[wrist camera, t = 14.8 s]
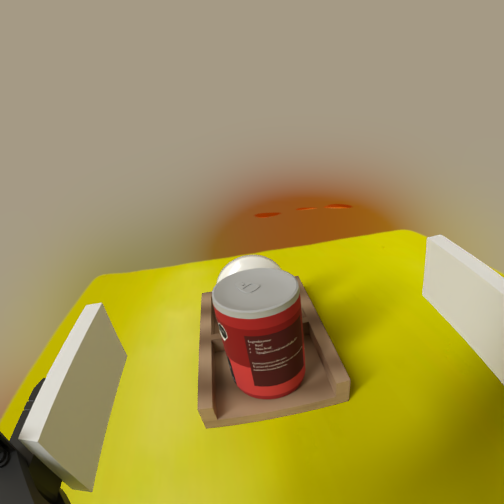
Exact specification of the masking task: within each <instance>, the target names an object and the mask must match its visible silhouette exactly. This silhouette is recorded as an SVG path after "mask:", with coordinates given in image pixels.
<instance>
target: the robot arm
mask: <svg viewBox="0 0 504 504" xmlns="http://www.w3.org/2000/svg"><path fill="white" fill-rule="evenodd" d="M422 295H423V296H424V297H425V298H426V299H427V300H428V301H429V302H430V303H431V304H432V305H433V306H434V307H435V308H436V310H437V311H438V312H439V313H440V314H441V315H442V316H443V317H444V318H445V319H446V320H447V321H448V322H449V323H450V324H451V325H452V326H453V328H454V329H455V330H456V331H457V332H458V333H459V334H460V335H461V336H462V337H463V338H464V340H465V341H466V342H467V343H468V344H469V345H470V346H471V347H472V348H473V350H474V351H475V352H476V353H477V354H478V355H479V356H480V358H481V359H482V360H483V361H484V362H485V363H486V365H487V366H488V367H489V368H490V369H491V370H492V372H493V373H494V374H495V375H496V376H497V378H498V379H499V380H500V381H501V382H502V384H503V385H504V278H503V277H502V276H500V275H499V274H498V273H496V272H495V271H494V270H492V269H491V268H490V267H488V266H487V265H485V264H484V263H483V262H481V261H480V260H478V259H477V258H475V257H474V256H473V255H471V254H469V253H468V252H466V251H465V250H464V249H462V248H461V247H459V246H458V245H456V244H455V243H453V242H452V241H450V240H449V239H447V238H446V237H444V236H442V235H437V236H433V237H428V238H427V246H426V261H425V272H424V283H423V292H422ZM126 358H127V355H126V353H125V351H124V349H123V347H122V345H121V343H120V341H119V339H118V336H117V334H116V332H115V330H114V328H113V326H112V324H111V322H110V319H109V317H108V315H107V313H106V310H105V308H104V306H103V304H102V303H97V304H91V305H86V306H85V308H84V310H83V312H82V313H81V315H80V317H79V318H78V320H77V322H76V323H75V325H74V327H73V329H72V330H71V332H70V334H69V336H68V338H67V339H66V341H65V343H64V345H63V347H62V348H61V350H60V352H59V354H58V356H57V358H56V360H55V361H54V363H53V365H52V367H51V369H50V371H49V373H48V375H47V377H46V378H43V379H42V380H41V381H40V382H39V383H38V384H37V385H36V387H35V388H34V389H33V391H32V393H31V395H30V397H29V399H28V400H29V402H27V403H26V405H25V407H24V409H25V410H24V411H23V412H22V414H21V416H20V418H19V420H18V423H17V425H16V427H15V429H14V432H13V434H12V436H11V438H10V441H8V439H7V438H6V437H5V436H4V435H3V434H2V433H1V432H0V504H71V503H70V501H69V499H68V497H67V495H66V494H65V492H64V491H63V490H62V489H61V488H60V486H61V482H62V481H63V482H64V483H66V484H67V485H68V486H69V487H70V488H72V489H74V490H81V491H88V492H92V491H93V486H94V481H95V476H96V471H97V467H98V462H99V458H100V454H101V449H102V445H103V441H104V437H105V433H106V429H107V425H108V421H109V417H110V414H111V410H112V406H113V402H114V399H115V395H116V392H117V388H118V385H119V381H120V378H121V375H122V371H123V368H124V365H125V361H126Z"/></svg>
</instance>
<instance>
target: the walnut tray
mask: <svg viewBox="0 0 504 504" xmlns="http://www.w3.org/2000/svg"><path fill="white" fill-rule="evenodd" d="M295 278H296V279H297V281H298V285H299V288H300V297H301V309H302V322H303V336H304V351H305V368H306V371H305V375H304V378H303V380H302V382H301V384H300V385H299V386H298V388H297V389H296V390H294V391H293V392H292V393H290V394H288V395H286V396H284V397H280V398H277V399H257V398H254V397H251V396H249V395H247V394H245V393H244V392H243V391H241V390H240V388H239V387H238V386H237V385H236V383H235V382H234V380H233V377H232V374H231V371H230V367H229V363H228V360H227V356H226V353H225V349H224V345H223V342H222V338H221V334H220V330H219V326H218V323H217V319H216V315H215V310H214V306H213V302H212V301H213V299H212V292H207V293H202V301H201V320H200V343H199V372H198V411H199V414H200V416H201V418H202V421H203V423H204V425H205V427H206V428H214V427H222V426H230V425H237V424H244V423H250V422H256V421H262V420H267V419H273V418H278V417H283V416H288V415H293V414H297V413H302V412H306V411H310V410H315V409H319V408H323V407H327V406H331V405H334V404H338V403H342V402H345V401H349V392H350V378H349V376H348V374H347V372H346V370H345V368H344V366H343V364H342V362H341V360H340V358H339V356H338V354H337V352H336V350H335V348H334V346H333V344H332V342H331V340H330V338H329V336H328V334H327V332H326V330H325V328H324V326H323V324H322V322H321V320H320V318H319V316H318V314H317V312H316V310H315V308H314V306H313V304H312V302H311V300H310V298H309V296H308V294H307V292H306V291H305V289H304V287H303V285H302V283H301V281H300V279H299V277H298V276H295Z"/></svg>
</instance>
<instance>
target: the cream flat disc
mask: <svg viewBox="0 0 504 504" xmlns="http://www.w3.org/2000/svg"><path fill="white" fill-rule="evenodd" d="M254 268H273V269H279V270H282V269H281V268H280V267H279V265H278V264H277V263H275V262H274V261H273V260H271V259H269V258H267V257H264V256H260V255H246V256H242V257H239V258H236V259H234V260H232V261H231V262H230V263H228V264H227V265H226V266H225V267H224V268H223V269H222V271H221V272H220V274H219V276H218V279H217V283H218V282H219V281H221V280H222V279H224V278H225V277H227V276H229V275H231V274H234V273H236V272H239V271H243V270H247V269H254Z"/></svg>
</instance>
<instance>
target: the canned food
mask: <svg viewBox="0 0 504 504" xmlns="http://www.w3.org/2000/svg"><path fill="white" fill-rule="evenodd" d="M212 299H213V301H212V302H213V306H214V310H215V315H216V319H217V323H218V326H219V330H220V334H221V338H222V342H223V345H224V349H225V353H226V356H227V360H228V363H229V367H230V371H231V374H232V377H233V380H234V382H235V383H236V385H237V386H238V387H239V388H240V390H241V391H243V392H244V393H245V394H247V395H249V396H251V397H254V398H257V399H277V398H280V397H284V396H286V395H288V394H290V393H292V392H293V391H294V390H296V389H297V388H298V386H299V385H300V384H301V382H302V380H303V378H304V375H305V371H306V368H305V351H304V336H303V322H302V309H301V297H300V288H299V285H298V281H297V279H296V278H295V277H294V276H293V275H291V274H290V273H288V272H285V271H283V270H279V269H273V268H254V269H247V270H243V271H239V272H236V273H234V274H231V275H229V276H227V277H225V278H224V279H222V280H221V281H219V282H218V283H217V284H216V286H215V287H214V288H213V291H212Z"/></svg>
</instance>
